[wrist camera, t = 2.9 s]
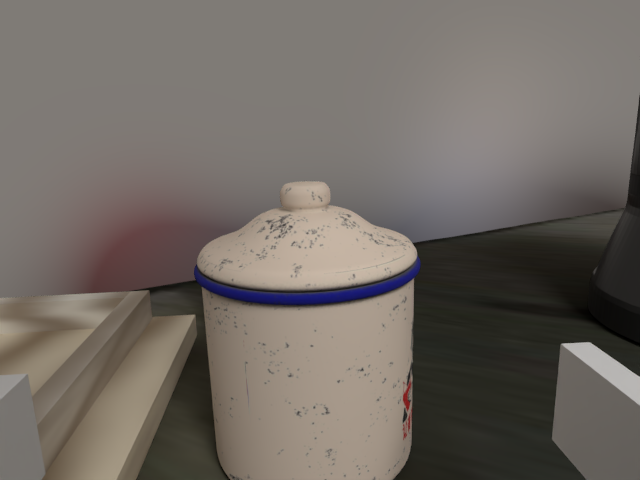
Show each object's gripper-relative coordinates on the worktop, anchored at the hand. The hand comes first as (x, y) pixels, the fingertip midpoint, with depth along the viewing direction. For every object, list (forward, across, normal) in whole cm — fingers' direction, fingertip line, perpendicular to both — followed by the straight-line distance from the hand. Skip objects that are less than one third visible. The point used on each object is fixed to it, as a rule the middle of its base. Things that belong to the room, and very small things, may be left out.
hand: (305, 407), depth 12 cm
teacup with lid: (+10, 0, -7) cm, 12 cm away
